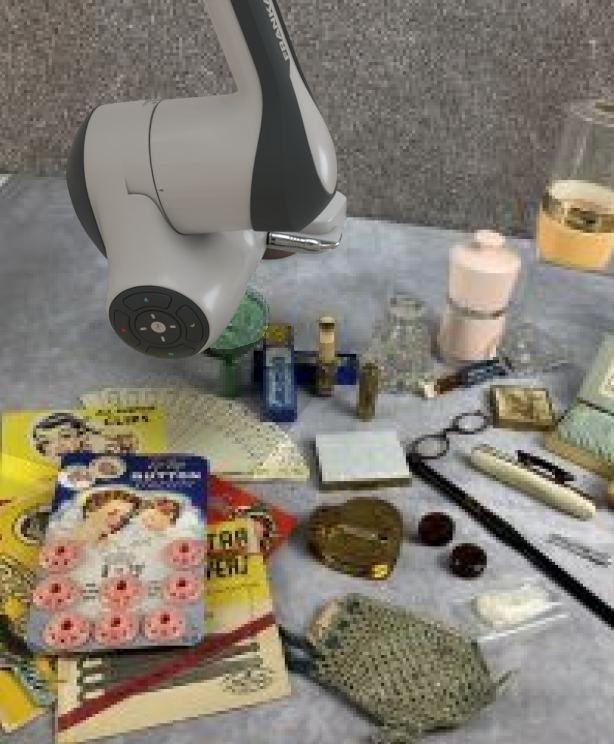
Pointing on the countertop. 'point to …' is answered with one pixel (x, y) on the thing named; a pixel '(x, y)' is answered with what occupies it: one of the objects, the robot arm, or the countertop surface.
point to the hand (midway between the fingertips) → (250, 172)
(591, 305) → the countertop surface
